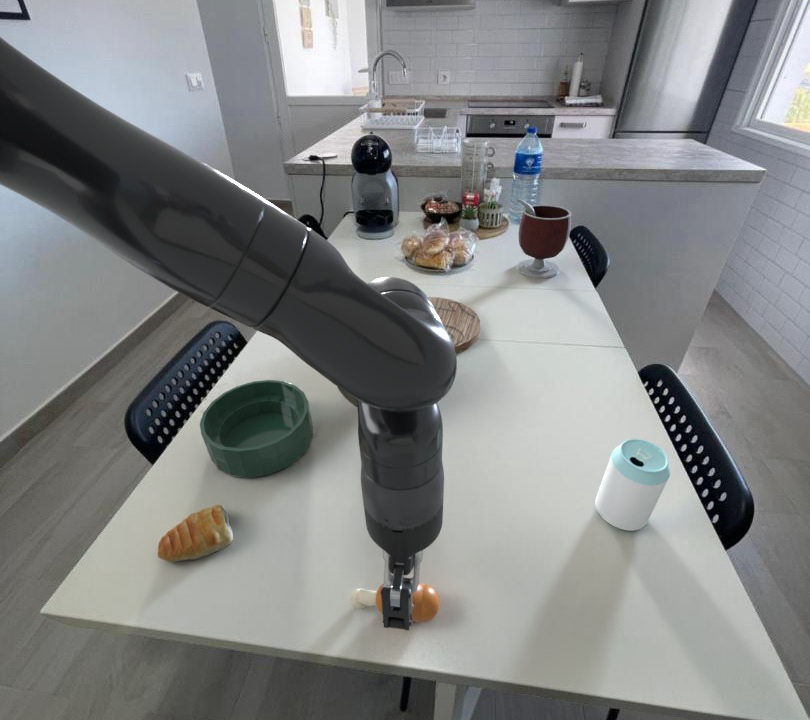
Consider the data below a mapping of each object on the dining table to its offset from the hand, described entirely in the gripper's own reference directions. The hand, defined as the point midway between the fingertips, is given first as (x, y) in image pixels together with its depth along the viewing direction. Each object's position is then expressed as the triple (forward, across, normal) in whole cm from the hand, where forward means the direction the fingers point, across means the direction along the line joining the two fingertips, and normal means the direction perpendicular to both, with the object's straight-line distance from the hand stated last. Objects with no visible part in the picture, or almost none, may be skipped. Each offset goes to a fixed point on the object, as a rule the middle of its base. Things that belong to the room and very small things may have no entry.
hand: (406, 582), depth 51 cm
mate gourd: (+7, -102, +26) cm, 105 cm away
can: (+6, -17, +29) cm, 34 cm away
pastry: (+6, -6, -29) cm, 30 cm away
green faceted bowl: (+6, -25, -28) cm, 38 cm away
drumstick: (+6, 0, -1) cm, 6 cm away
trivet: (+6, -65, -3) cm, 65 cm away
